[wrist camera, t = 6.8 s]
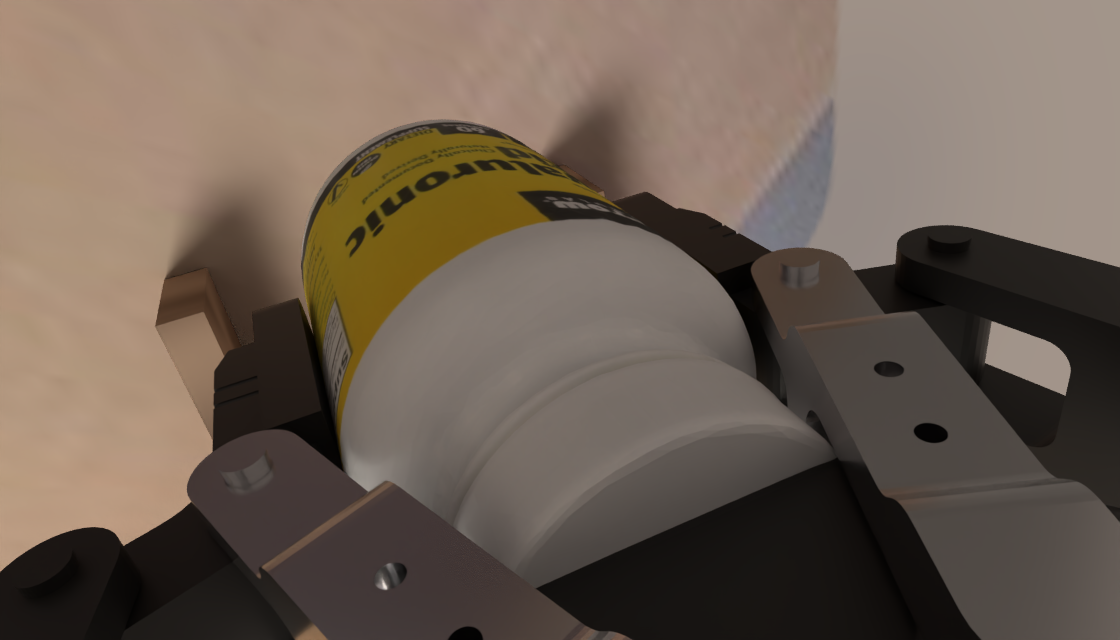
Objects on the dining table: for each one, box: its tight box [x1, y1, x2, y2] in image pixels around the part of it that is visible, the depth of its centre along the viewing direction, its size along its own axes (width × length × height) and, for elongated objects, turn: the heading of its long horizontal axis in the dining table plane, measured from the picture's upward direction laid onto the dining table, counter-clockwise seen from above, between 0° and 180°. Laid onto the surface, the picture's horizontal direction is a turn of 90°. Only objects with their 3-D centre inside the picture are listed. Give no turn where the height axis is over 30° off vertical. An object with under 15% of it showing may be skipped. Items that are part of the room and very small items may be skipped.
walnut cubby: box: [155, 165, 605, 440], centre depth 31 cm, size 12×16×4 cm
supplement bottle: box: [301, 120, 837, 588], centre depth 11 cm, size 5×5×10 cm
